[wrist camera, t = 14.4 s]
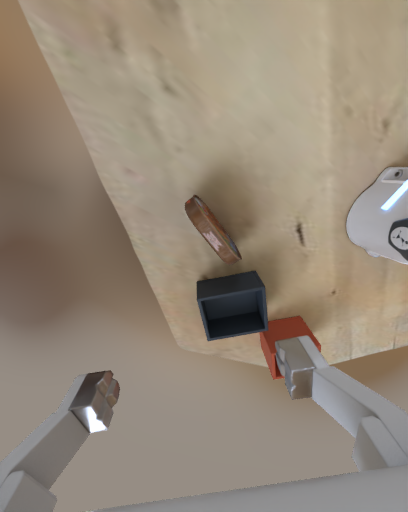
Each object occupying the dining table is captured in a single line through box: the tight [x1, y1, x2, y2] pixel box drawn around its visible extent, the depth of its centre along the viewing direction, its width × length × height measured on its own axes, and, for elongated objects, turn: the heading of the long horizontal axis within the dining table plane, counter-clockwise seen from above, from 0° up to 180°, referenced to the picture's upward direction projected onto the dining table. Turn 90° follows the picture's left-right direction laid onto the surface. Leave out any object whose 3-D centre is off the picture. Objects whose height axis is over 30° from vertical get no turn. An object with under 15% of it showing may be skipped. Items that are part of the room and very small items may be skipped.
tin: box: [185, 195, 242, 265], centre depth 37 cm, size 15×3×8 cm, turn 37°
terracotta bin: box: [260, 316, 321, 379], centre depth 48 cm, size 11×9×12 cm
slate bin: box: [197, 271, 268, 341], centre depth 45 cm, size 14×12×7 cm
